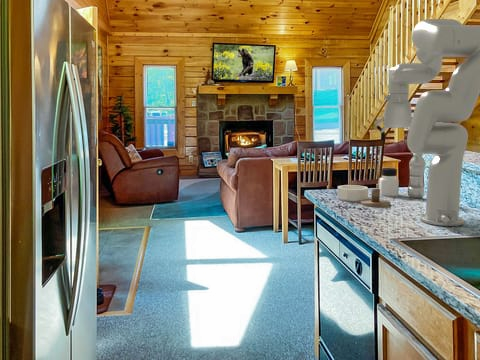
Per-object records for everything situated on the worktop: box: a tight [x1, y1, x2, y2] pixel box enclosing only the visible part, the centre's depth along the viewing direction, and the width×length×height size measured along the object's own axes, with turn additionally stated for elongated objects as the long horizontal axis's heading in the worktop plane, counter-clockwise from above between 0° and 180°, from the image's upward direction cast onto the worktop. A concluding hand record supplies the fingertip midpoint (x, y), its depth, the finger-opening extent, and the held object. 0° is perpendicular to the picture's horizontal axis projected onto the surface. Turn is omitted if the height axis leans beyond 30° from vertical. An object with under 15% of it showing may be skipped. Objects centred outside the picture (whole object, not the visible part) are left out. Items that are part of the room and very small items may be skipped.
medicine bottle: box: [378, 167, 400, 197], centre depth 176 cm, size 7×7×12 cm
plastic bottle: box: [406, 152, 427, 199], centre depth 167 cm, size 6×7×20 cm
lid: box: [360, 187, 391, 208], centre depth 156 cm, size 11×11×6 cm
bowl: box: [337, 184, 369, 202], centre depth 168 cm, size 12×12×5 cm
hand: (396, 142), depth 161 cm, fingers open, 9 cm apart
